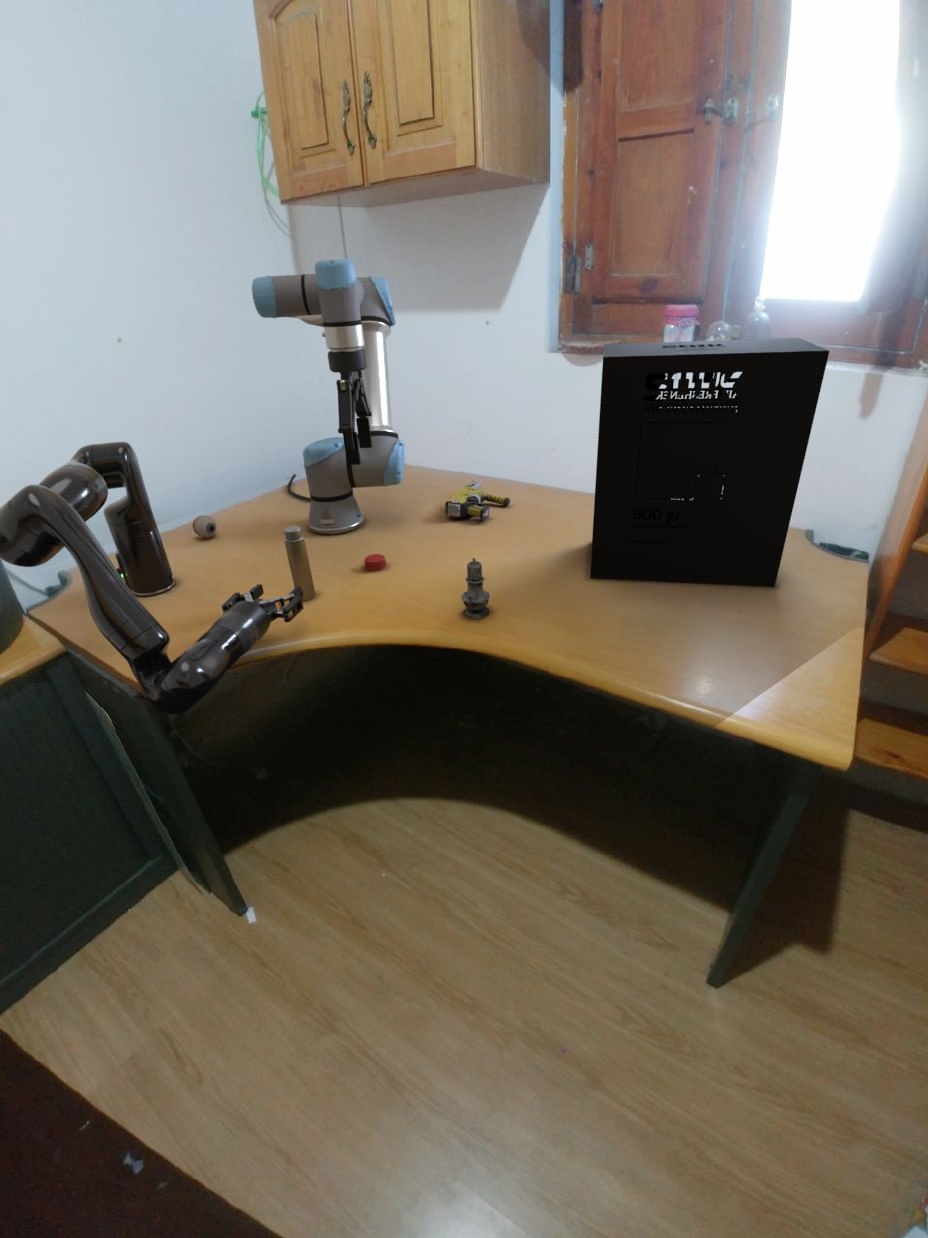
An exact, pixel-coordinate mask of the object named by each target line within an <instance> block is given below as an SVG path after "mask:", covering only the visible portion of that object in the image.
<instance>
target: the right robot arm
mask: <svg viewBox="0 0 928 1238" xmlns="http://www.w3.org/2000/svg"><path fill="white" fill-rule="evenodd" d="M251 295H252V300H253V305H254V307H255V310H256V313H257V314H258V315H259V316H260V317H261V318H263V319H265V318H266V319H278V318H292V319H299V320H300V321H301V322H303V323H306V324H307V325H312V326H317V327H320V328H323V331H322V332H321V337H323V338H325V346H326V349H328V350H329V351H328V352H327V360H328V369H329V370H330V372H332V373H339V374H340V379H336V390H337V409H338V411H337V412H338V428H337V433H338V434H340V435H341V434H342V436H343V437H342V436H340V437H339V436H335V437H333V436H332V437H327V438H323V439H320V440H316V441H314V442H312V443H309V444H308V445H306V446H305V447H304V448H303V450H302V457H303V459H302V460H303V467H304V471H305V477H306V481H307V486H308V492H309V497H308V496H304V495H302V494H301V495H300V494H298V493H296V492H294V491H292V489H291V485H292V483H293V481H294V480H295V478H296V476H297V474H296V473H293V474H292V476H291V478H290V479H289V482H288V483H287V485H286V486H287V487H286V489H287V491H288V493H289V494H290V495H292V496H294V497H295V498H298V499H302V500H305V501H309V502H310V507H309V513H308V521H307V522H308V523H307V524H308V528H309V529H308V530H310V531H311V532H312V533H314V534H317V535H323V536H324V535H325V536H327V535H329V536H331V535H339V534H340V535H341V534H345V533H350V532H353V531H355V530H357V529H359V528H361V527H362V526H363V525H364V523H365V519H364V514H363V512H362V510H361V508H360V505H359V504H358V501H357V500H356V498H355V495H354V489H360V488H377V487H384V488H387V487H389V486H397V485H400V484H401V482H402V481H403V479H404V475H405V474H404V472H405V460H406V457H405V456H406V454H405V449H406V448H405V441H404V440H402V439H399V433H398V432H397V431H396V430H395V429H394V427H393V421H392V420H393V419H392V407H391V394H390V391H391V390H390V379H389V367H388V366H389V365H388V353H387V350H388V349H387V338H388V337H389V336H390V335H391V332H392V327H394V326H396V324H397V321H396V315H395V311H394V307H393V302H392V297H391V291H390V286H389V282H388V280H387V279H386V278H385V277H383V276H371V275H368V276H364V277H358V276H357V273H356V268H355V264H354V262H353V260H352V259H349V258H343V259H342V258H341V259H339V258H338V259H324V260H318V261H316V262H315V264H314V273H304V274H288V275H287V274H286V275H265V276H258V277H255V278H254V279H253V280H252V283H251ZM356 429H357V431H356Z"/></svg>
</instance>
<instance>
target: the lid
mask: <svg viewBox="0 0 928 1238" xmlns="http://www.w3.org/2000/svg"><path fill="white" fill-rule="evenodd" d="M386 565H387V564H386V558H385V555H383V554H379V553H373V554H369V555H367V556H365V557H364V566H365V570H367V571H370V572H377V571H378V572H379V571H382V570H384V569H386Z"/></svg>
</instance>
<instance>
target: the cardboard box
mask: <svg viewBox="0 0 928 1238" xmlns="http://www.w3.org/2000/svg"><path fill="white" fill-rule="evenodd" d="M829 356H830V350H829V349H827V348H824V347H822V346H819V345H817V344H815V343H813V342H809V341H808V340H804V339H802V338H799V337H787V338H786V337H785V338H756V339H755V338H753V339H751V338H750V339H724V340H691V341H689V340H688V341H661V342H631V343H604V344H603V353H602V368H601V385H600V386H601V387H600V399H599V400H600V402H599V416H598V417H599V419H598V434H597V436H598V437H597V452H596V467H595V468H596V470H595V487H594V502H593V503H594V504H593V521H592V535H591V536H592V538H591V554H590V569H589V571H590V572H589V578H590V579H600V580H625V581H647V582H665V583H666V582H667V583H668V582H669V583H688V584H689V583H691V584H692V583H693V584H714V585H735V586H755V587H756V586H757V587H759V586H760V587H776V583H777V579H778V575H779V572H780V571H779V570H780V566H781V562H782V557H783V553H784V549H785V545H786V541H787V536H788V532H789V528H790V523H791V519H792V514H793V510H794V506H795V502H796V497H797V493H798V489H799V485H800V480H801V475H802V473H803V472H802V471H803V467H804V464H805V457H806V454H807V449H808V446H809V441H810V437H811V433H812V428H813V425H814V419H815V415H816V411H817V407H818V403H819V398H820V395H821V390H822V385H823V381H824V376H825V373H826V368H827V363H828V360H829ZM735 373H740V374H739V376H738V377H733V375H734V374H735ZM676 374H680V378H678V381H677V387H674V386H675V385H674V384H675V378H673V377H674V375H676ZM687 374H692V378H691V384H694V385H693V387H689V385H690V378H687ZM701 374H703V378H700V376H701ZM718 374H719V378H718ZM722 377H723V382H722ZM717 379H718V383H717ZM722 383H723V384H727V383H729V384H731V383H733V384H732V387H731V386H730V387H726V386H725V387H724V386H723V385H722ZM703 384H708V387H702V385H703ZM662 386H665V387H664V388H663V387H662ZM661 387H662V388H661Z"/></svg>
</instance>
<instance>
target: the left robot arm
mask: <svg viewBox="0 0 928 1238" xmlns="http://www.w3.org/2000/svg"><path fill="white" fill-rule="evenodd" d="M136 453H137V452H136V451H135V448H133V446H132V445H131V444H130V443H129V442H127V441H111V442H103V443H101V442H100V443H92V444H86V445H85V446H81V447H80V448H79V449H77V451H76V452H75V453H74V454H73V455H72V457H71V458H70V460H69V461H67V462H66V463H65V464H63V465H61V466H60V467H58V468H56V469H55V470H53V471H52V472H50V473H49V474H48V475H46V476H45V477H44V478H43V479H42V480H40V482H39V483H38V484H29V485H26V486H24V487H22V488H21V489H20V490H18V491H17V493H15V494H14V495H13V496H11V498H10V499H9V500H7V501H6V502H5V503H4V504H3V505H2V506H1V507H0V560H1V561H4V562H5V563H8V564H10V565H13V566H17V567H23V568H35V567H39V566H42V565H44V564H46V563H48V562H49V561H50V560H52V559H53V558H54V557H55V556H56V555H57V554H59V553H60V552H61V551H62V550H63V549H64V548H65V549H66V550H67V551H68V552H69V554H70V555H71V557H72V558H73V560H74V562H75V564H76V566H77V568H78V571H79V574H80V577H81V580H82V583H83V588H84V592H85V596H86V601H87V605H88V609H89V613H90V616H91V618H92V620H93V622H94V625H95V626H96V628H97V629H98V631H99V632H100V633H101V634H102V636H103V637H104V638H105V639H106V640H107V641H108V642H109V643H110V644H111V646H112V647H113V648H114V649H115V650H116V652H118V653H119V654H120V655H121V656H122V658H124V659H125V661H126V662H127V664H128V666H129V668H130V670H131V672H132V674H133V676H134V677H135V679H136V681H137V684H138V685H139V687H140V688H141V689H140V690H142V692H143V694H144V695H145V697H146V698H147V700H148V702H150V703H151V705H152V706H153V707H154V708H156V709H157V710H159V711H161V712H163V713H165V714H168V715H173V716H174V715H181V714H185V713H186V712H188V711H189V710H190V709H192V707H194V706H195V705H196V704H197V703H198V702H199V701H201V700H202V699H203V698H204V697H205V696H207V695H208V694H209V693H210V691H212V690H213V689H214V687H215V686H216V685H218V683H219V682H220V680H221V679H222V678H223V677H224V676H225V674H226V672H227V671H229V670H230V669H231V668H232V667H233V666H234V665H235V664H236V663H237V662H238V661H239V660H240V658H241V657H243V656H244V655H246V654H247V653H248V652H249V651H250V650H251V649H252V648H253V647H254V646H255V645H256V644H257V643H258V642H259V640H261V638H263V636H264V635H265V634H266V633H267V632H268V631H269V629H270V625H271V623H272V622H274V621H275V620H277V619H279V618H280V619H283V620H284V623H290V622H292V621H293V619H294V618H296V617H297V616H298V615H299V614H300V613H301V612H302V611H303V610H304V608H305V607H304V603H303V602H304V601H302V597H303V591H302V589H301V587H300V586H296V587H295V588H293V589H292V590H291V592H289V593H288V594H287V595H284V596H281V595H277V596H274V597H272V598H269V599H268V598H267V599H263V598H261V597H262V596H263V595H264V593H265V591H264V587H263V584H261V583H257V584H256V585H255V586H253V587H252V588H250V590H249V591H244V592H243V593H240V592H234V593H233V594H232V595H231V596H230V597H229V598H227V600H226V601H224V602H223V604H222V605H221V608H222V613H223V614H222V615H221V616H220V617H219V618H218V619H216V621H214V623H213V624H211V627H210V628H209V629H208V630H207V631H205V632H204V633H203V634H202V635H201V636H199V638H198V639H197V640H196V641H195V642H194V643H193V644H192V646H189V648H187V649H186V650H184V651H183V652H182V653H181V654H180V655H178V656H177V657H176V658H175V659H174V660H173V661H171V659H170V657H169V655H168V648H169V645H170V642H171V636H170V634H169V633H168V631H167V630H166V628H165V627H163V625H162V624H161V623H160V622H159V621H158V619H156V617H154V615H152V613H151V612H150V611H149V610H148V609H147V607H145V605H144V604H143V603H142V602H141V601H140V600H139V598H138V597H151V596H156V595H160V594H163V593H165V592H167V591H169V590H171V589H172V588H174V587H175V586H176V584H177V581H176V579H175V573H174V572H173V570H172V568H171V564H170V562H169V559H168V558H169V557H168V555H167V552H166V549H165V546H164V542H163V540H162V537H161V535H160V531H159V528H158V524H157V521H156V518H155V516H154V513H153V509H152V505H151V503H150V498H149V494H148V492H147V491H148V490H147V488H146V485H145V481H144V478H143V474H142V469H141V466H140V463H139V458H138V456H137V454H136ZM121 488H122V489H123V488H125V493H126V494H125V495H124V496H123V497H121V498H120V499H118V500H115V501H112V503H110V504H107V506H106V507H104V505H105V504H106V502H107V500H108V497H109V490H114V489H121ZM103 507H104V509H103V516H104V519H105V522H106V525H107V526H108V530H109V532H110V535H111V537H112V540H113V543H114V545H115V548H116V551H117V552H116V553H115V559H116V562H117V564H118V567H117V568H116V566H115V565H114V563H113V562H112V560H111V559H110V557H109V555H108V554H107V552H106V551H105V550H104V548H103V546H102V544H101V543H100V542H99V541H98V539H97V537H96V536H95V535H94V533H93V532H92V529H90V527H89V525H88V524H87V523H86V522H88V521H89V520H90V519H91V518H92V517H94V516H95V515H96V514H97V513H98V512H99V511H100V510H101V509H102V508H103ZM285 602H288V603H287V604H286V603H285ZM276 603H278V606H279V607H277V605H276ZM278 608H279V609H278Z"/></svg>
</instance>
